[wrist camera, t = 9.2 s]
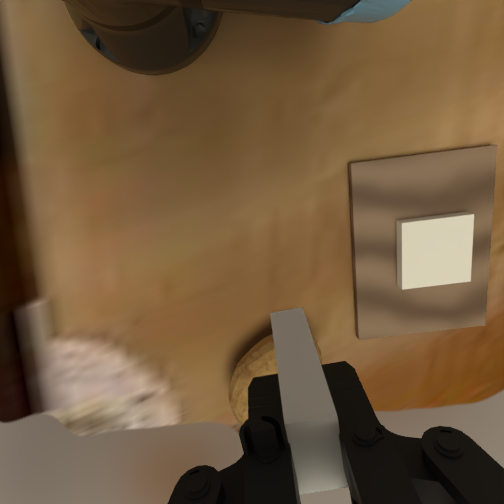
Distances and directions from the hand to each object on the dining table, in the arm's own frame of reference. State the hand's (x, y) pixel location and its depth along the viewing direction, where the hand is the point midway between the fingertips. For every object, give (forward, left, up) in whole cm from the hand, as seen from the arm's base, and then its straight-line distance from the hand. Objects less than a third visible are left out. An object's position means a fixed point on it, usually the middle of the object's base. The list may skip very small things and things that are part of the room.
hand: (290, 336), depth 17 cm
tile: (+6, +15, -25) cm, 30 cm away
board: (+6, +18, -27) cm, 33 cm away
